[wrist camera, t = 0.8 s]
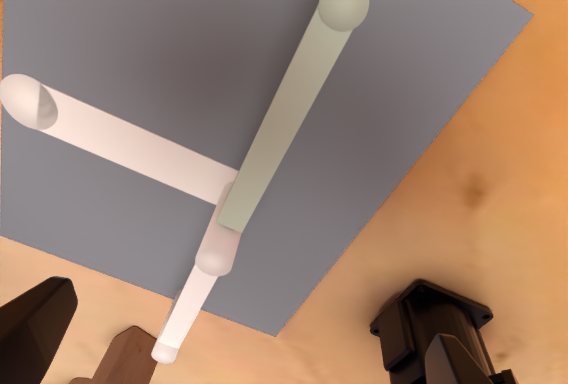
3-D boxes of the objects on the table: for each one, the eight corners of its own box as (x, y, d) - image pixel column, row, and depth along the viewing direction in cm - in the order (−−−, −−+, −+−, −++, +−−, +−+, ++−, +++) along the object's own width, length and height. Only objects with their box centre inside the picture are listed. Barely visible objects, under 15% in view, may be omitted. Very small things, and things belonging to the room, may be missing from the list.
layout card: (530, 12, 16) (625, 49, 11) (276, 332, 31) (265, 413, 26) (13, -303, 13) (-209, -470, 7) (2, 231, 27) (-75, 301, 22)
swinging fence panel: (366, -22, 15) (379, -8, 12) (256, 187, 22) (242, 239, 18) (332, -42, 15) (334, -34, 11) (231, 176, 22) (211, 226, 18)
